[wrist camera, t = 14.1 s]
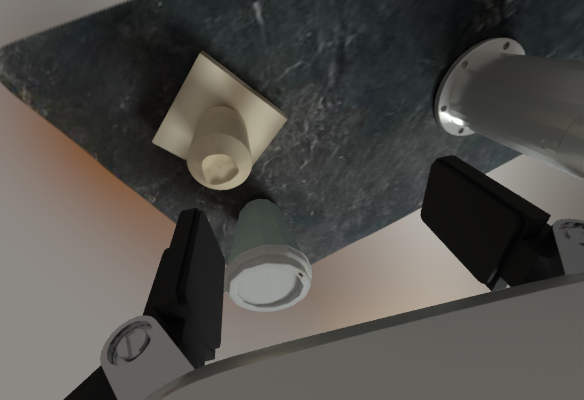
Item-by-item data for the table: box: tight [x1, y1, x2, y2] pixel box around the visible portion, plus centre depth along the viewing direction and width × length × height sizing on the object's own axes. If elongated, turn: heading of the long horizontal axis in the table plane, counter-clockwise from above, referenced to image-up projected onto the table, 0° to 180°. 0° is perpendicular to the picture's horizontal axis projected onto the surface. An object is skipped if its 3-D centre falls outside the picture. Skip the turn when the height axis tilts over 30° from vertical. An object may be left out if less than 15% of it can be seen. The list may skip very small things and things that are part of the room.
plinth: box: [152, 50, 287, 166], centre depth 30 cm, size 11×11×3 cm
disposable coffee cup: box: [224, 199, 312, 311], centre depth 35 cm, size 11×11×15 cm
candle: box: [187, 106, 252, 190], centre depth 25 cm, size 6×6×10 cm
